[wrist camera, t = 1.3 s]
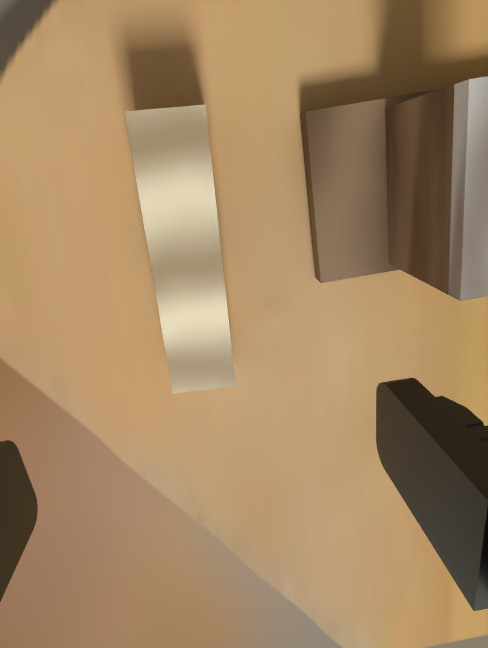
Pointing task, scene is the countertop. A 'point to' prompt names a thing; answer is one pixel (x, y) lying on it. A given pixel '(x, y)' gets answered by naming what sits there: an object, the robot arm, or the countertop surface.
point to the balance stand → (402, 187)
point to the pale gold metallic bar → (183, 243)
